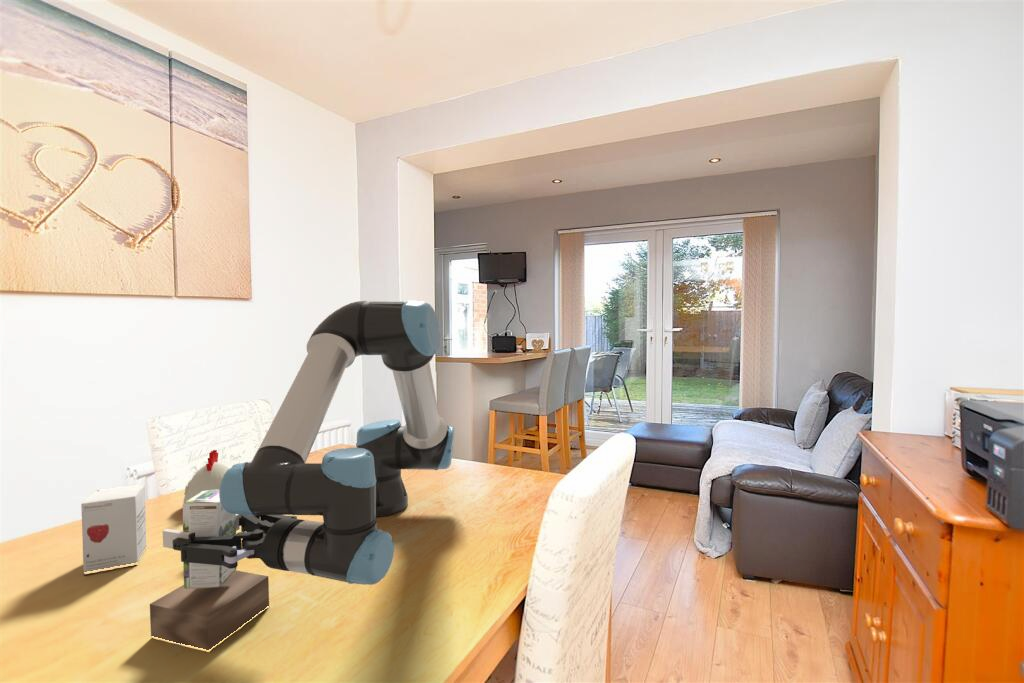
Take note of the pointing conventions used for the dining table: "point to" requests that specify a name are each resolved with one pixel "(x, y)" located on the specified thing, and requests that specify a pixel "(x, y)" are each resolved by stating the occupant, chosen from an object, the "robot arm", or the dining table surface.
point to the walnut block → (209, 610)
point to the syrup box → (207, 521)
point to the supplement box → (113, 527)
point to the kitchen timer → (206, 477)
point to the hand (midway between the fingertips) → (188, 527)
